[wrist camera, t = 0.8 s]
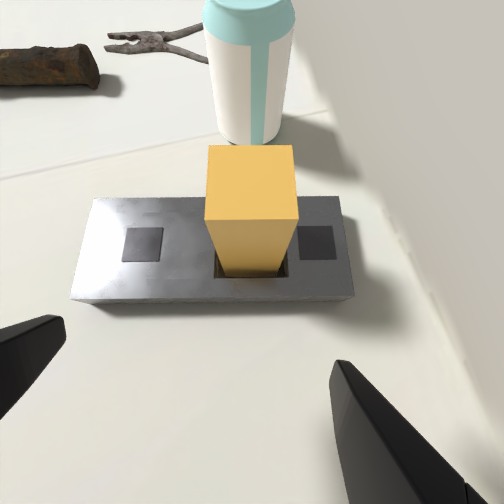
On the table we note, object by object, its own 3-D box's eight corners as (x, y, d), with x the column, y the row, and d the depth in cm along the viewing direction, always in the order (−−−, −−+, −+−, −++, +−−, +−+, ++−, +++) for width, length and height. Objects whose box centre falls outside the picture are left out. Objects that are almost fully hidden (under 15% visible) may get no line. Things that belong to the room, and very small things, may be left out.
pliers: (262, 57, 31) (105, 81, 30) (262, 64, 32) (108, 88, 31) (246, 14, 35) (103, 33, 33) (246, 21, 36) (106, 40, 34)
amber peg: (276, 276, 22) (298, 219, 12) (226, 277, 22) (204, 220, 11) (273, 231, 23) (292, 144, 13) (227, 231, 23) (209, 145, 13)
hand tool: (105, 72, 31) (82, 29, 27) (98, 94, 30) (73, 52, 26) (-41, 73, 31) (-88, 29, 27) (-55, 94, 30) (-107, 52, 26)
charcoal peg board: (343, 300, 21) (355, 295, 19) (89, 303, 21) (68, 298, 18) (330, 210, 24) (339, 195, 22) (109, 212, 24) (93, 197, 22)
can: (214, 109, 29) (191, -38, 18) (271, 101, 29) (285, -48, 18) (224, 156, 26) (204, 19, 15) (286, 146, 27) (312, 7, 16)
